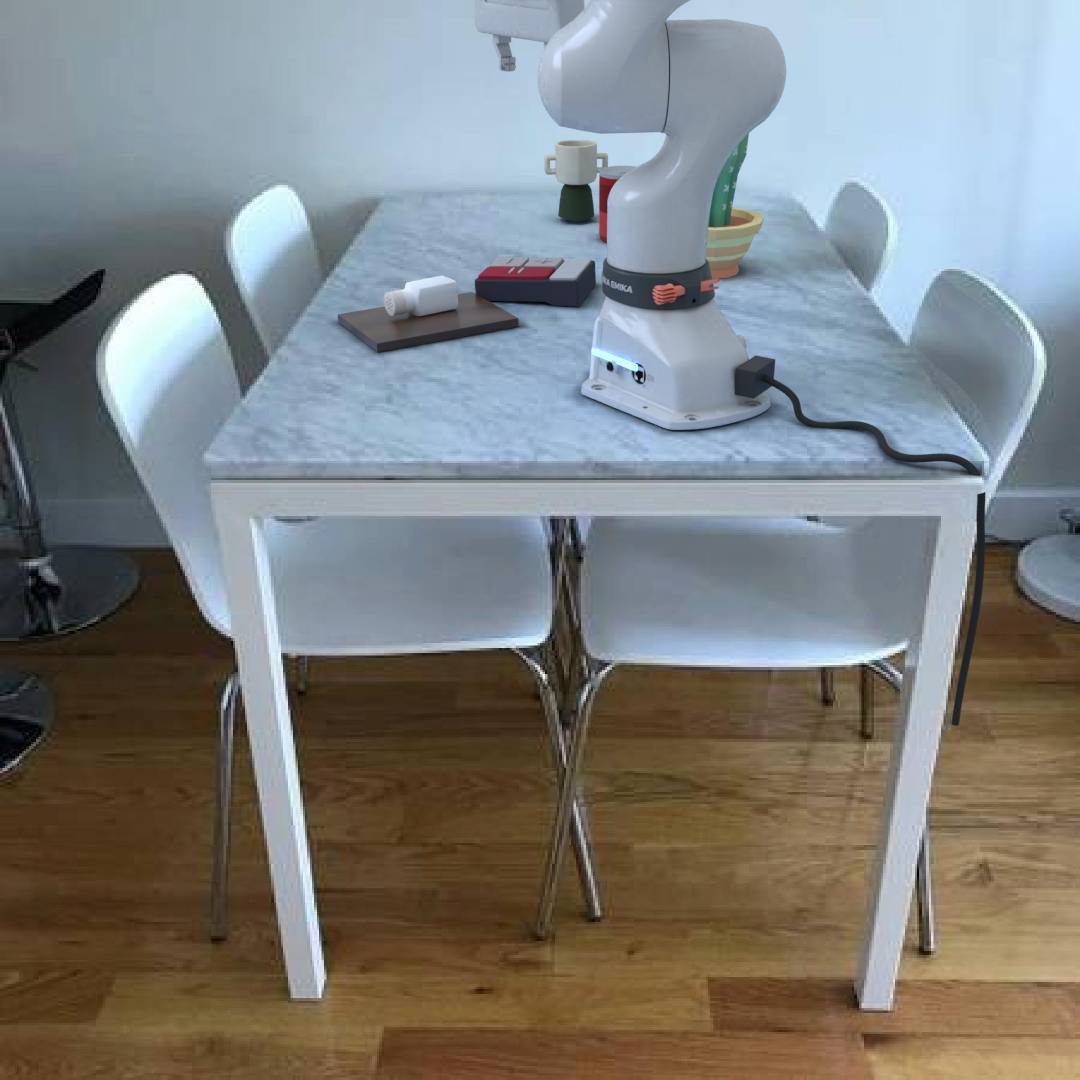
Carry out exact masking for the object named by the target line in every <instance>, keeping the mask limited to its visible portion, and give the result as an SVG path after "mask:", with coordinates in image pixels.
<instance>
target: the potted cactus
mask: <svg viewBox="0 0 1080 1080" xmlns="http://www.w3.org/2000/svg"><path fill="white" fill-rule="evenodd" d="M749 136H750V133H749V134H748V135H746V136H745V137H744V139H743V140H742V141H741V142H740V143H739V144H738V145H737V147H736V148H735V149H734V150H733V152H732V153H731V155H730V156H729V158H728V159H727V161H726V163H725V165H724V166H723V168H722V170H721V172H720V175H719V177H718V179H717V182H716V185H715V188H714V192H713V196H712V202H711V209H710V216H709V224H708V235H707V249H706V259H707V260H708V262H709V265H710V270H711V272H712V277H713V279H727V278H730V277H734V276H737V275H738V273H739V272H740V267H739V263H740V262H741V261H742V260H743V259H744V257H745V256H746V254H747V253H748V251H749V249H750V247H751V245H752V243H753V240H754V237H755V235H756V234H757V235H758V234H759V232H760V230H761V228H762V226H763V222H764V221H765V220H764V219H765V216H763V215H762V214H760V213H758V212H757V211H754V210H751V209H746V208H741V207H735V206H733V205H734V204H733V203H734V199H735V193H736V188H737V182H738V175H739V174H740V171H741V169H742V166H743V164H744V161H745V160H746V157H747V152H748V143H749Z"/></svg>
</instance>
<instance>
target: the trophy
mask: <svg viewBox="0 0 1080 1080" xmlns="http://www.w3.org/2000/svg"><path fill="white" fill-rule="evenodd" d="M554 147H555V149H554V150H555V154H554V153H553V154H546V155H545V156H544V158H543V159H544V160H543V162H544V163H543V165H544V174H545V175H547V176H549V175H550V176H551V175H552V176H553V175H555V178H556V179H555V180H556V181H557V182H558V183H560V184H563V185H562V187H561V190H560V196H559V204H558V215H557V216H558V217H559V218H560V219H563V220H566V221H567V222H569V221H571V222H583V221H587V220H590V219H592V218H594V216H595V208H594V207H595V206H594V198H593V191H592V188H591V185H590V184H592V183H594V182H596V179H597V177H598V174H600V170H601V169H603V168H605V167H609V154H608V153H606V152H598V142H596V141H593V140H589V139H588V140H587V139H566V140H560V141H557V142H556V143H555V146H554ZM598 160H602V161H601V162H602V163H601V166H598ZM551 161H555V168H551Z"/></svg>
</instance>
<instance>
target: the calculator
mask: <svg viewBox="0 0 1080 1080" xmlns="http://www.w3.org/2000/svg"><path fill="white" fill-rule="evenodd" d="M596 274H597V273H596V261H595V260H592V259H591V258H566V259H565V260H564V257H559V256H558V257H553V256H552V257H550V256H549V257H548V256H546V257H543V256H541V257H540V256H539V257H537V256H536V257H531V258H530V259H529V257H527V256H526V257H525V256H517V257H516V256H515V257H514V256H513V257H512V256H510V257H509V256H499V257H496V259H495V260H493V261H492V263H490V264H489V266H487V267H486V268H485V269H484V270H482V271H481V272H480V273H479V274H478V275H477V277H476V279H474V290H475V292H474V293H475V294H477V295H479V296H480V297H482V298H484V299H486V300H487V301H489V302H541V303H543V302H544V303H548V304H550V305H551V306H552V307H579V306H581V305H582V303H583V302H584V301H585V300H586V298H587V297H588V296H589V294H590V293H591V292H592V291H593V289H594V288H595V286H596V285H597V277H596Z"/></svg>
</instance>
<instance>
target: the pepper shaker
mask: <svg viewBox="0 0 1080 1080" xmlns="http://www.w3.org/2000/svg"><path fill="white" fill-rule="evenodd" d="M458 291H459V290H458V282H457V281H456V280H454V279H452V278H450V277H447V276H446V275H437V276H431V277H426V278H422V279H416V280H411V281H407V282H406V283H405V285H404V288H402V289H400V288H399V289H395V290H389V291H386V292H385V293H384V295H383V303H384V307H385V308H386V311H387V313H388V314H389V315H390V316H395V315H400V314H405V313H407V312H410V313H411V314H413V315H416V316H424V315H429V314H434V313H439V312H444V311H448V310H453V309H456V308H458V294H459V293H458Z"/></svg>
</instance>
